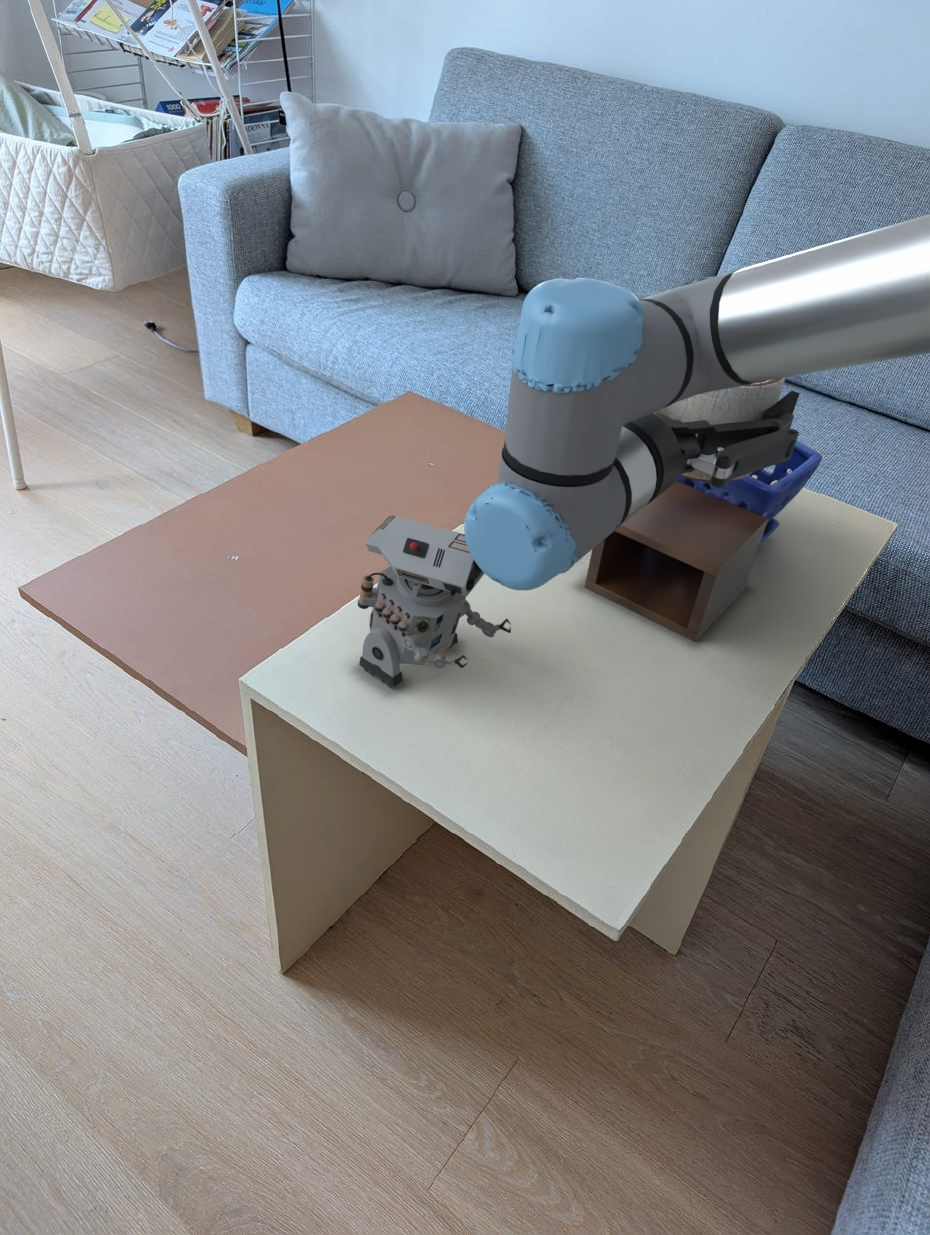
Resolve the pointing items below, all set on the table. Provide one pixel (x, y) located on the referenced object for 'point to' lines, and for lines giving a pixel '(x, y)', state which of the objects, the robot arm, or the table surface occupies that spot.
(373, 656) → the figurine
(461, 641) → the table surface
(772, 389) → the planter
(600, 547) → the shelf
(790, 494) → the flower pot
